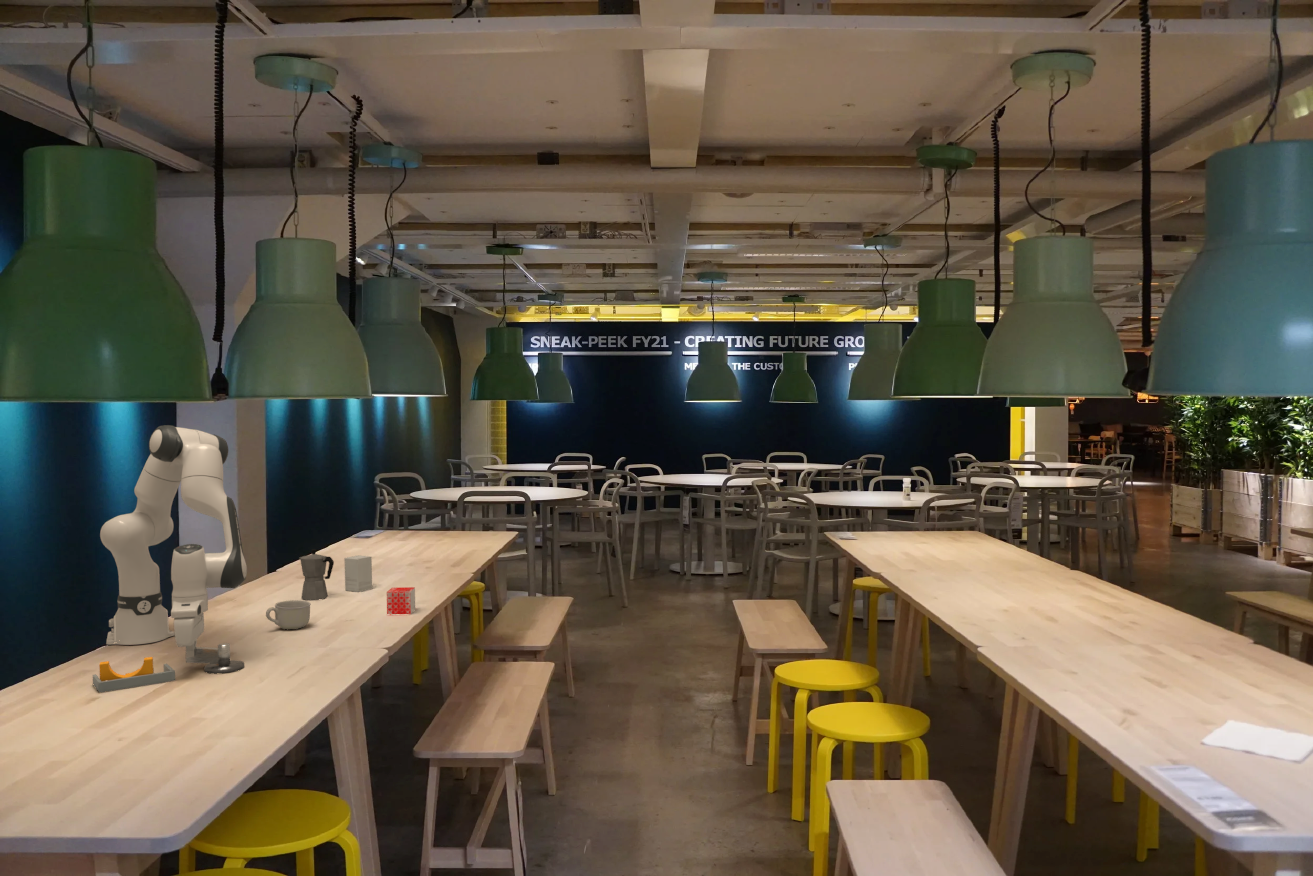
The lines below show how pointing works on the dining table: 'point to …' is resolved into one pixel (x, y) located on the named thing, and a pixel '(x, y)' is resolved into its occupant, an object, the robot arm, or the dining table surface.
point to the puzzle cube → (401, 600)
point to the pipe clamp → (109, 674)
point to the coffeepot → (315, 575)
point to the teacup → (290, 614)
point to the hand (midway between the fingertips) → (191, 656)
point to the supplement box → (358, 573)
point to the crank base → (224, 667)
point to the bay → (135, 680)
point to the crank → (211, 655)
